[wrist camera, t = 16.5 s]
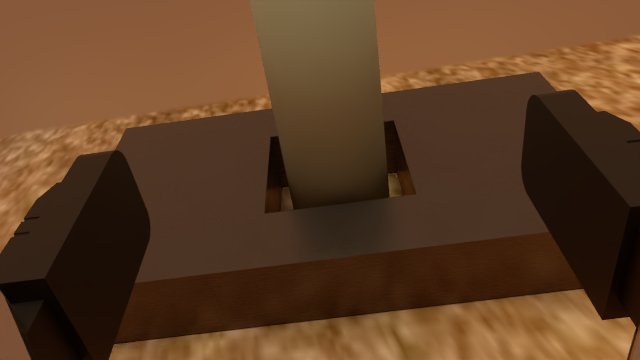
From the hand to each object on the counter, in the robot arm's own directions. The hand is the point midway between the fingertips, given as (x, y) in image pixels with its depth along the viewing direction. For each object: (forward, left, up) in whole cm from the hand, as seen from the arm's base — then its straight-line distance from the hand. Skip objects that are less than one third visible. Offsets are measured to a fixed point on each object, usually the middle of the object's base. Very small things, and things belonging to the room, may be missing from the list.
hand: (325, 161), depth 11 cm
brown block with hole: (+7, -8, -10) cm, 14 cm away
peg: (+7, -8, -10) cm, 14 cm away
